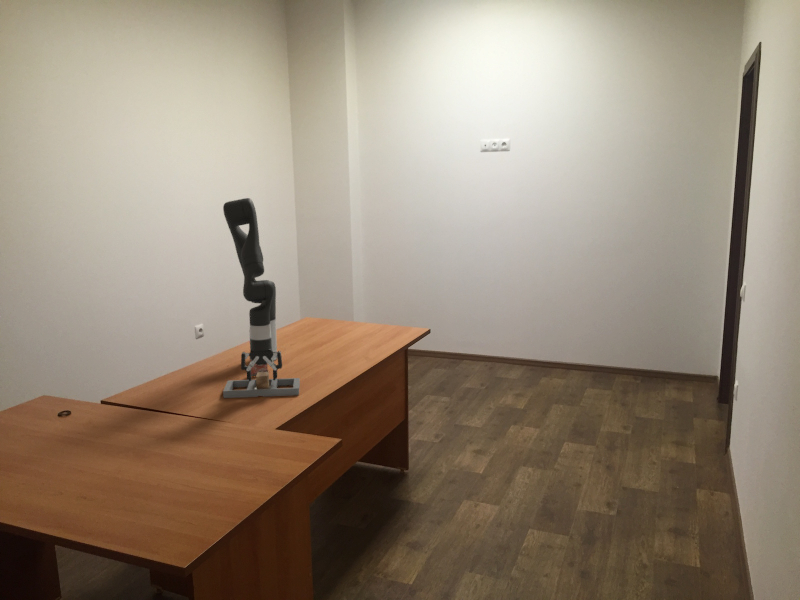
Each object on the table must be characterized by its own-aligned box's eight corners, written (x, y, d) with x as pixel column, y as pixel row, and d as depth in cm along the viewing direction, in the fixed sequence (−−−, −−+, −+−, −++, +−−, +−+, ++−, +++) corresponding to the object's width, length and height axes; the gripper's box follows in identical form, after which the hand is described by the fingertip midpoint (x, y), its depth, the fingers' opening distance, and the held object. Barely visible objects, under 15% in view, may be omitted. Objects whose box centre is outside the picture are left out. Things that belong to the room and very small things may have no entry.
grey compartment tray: (228, 387, 235) (227, 380, 234) (299, 384, 238) (299, 377, 237) (223, 398, 223) (223, 391, 223) (298, 395, 226) (298, 388, 226)
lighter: (254, 377, 245) (253, 352, 243) (248, 375, 247) (247, 350, 245) (270, 372, 252) (269, 347, 250) (264, 370, 254) (263, 346, 252)
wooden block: (256, 392, 228) (256, 376, 227) (258, 388, 233) (257, 372, 231) (268, 392, 228) (267, 376, 227) (269, 387, 233) (268, 371, 232)
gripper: (238, 339, 222) (240, 384, 225) (280, 338, 224) (281, 382, 227) (241, 334, 229) (243, 377, 232) (281, 333, 231) (283, 376, 234)
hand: (262, 380), depth 230 cm, fingers open, 8 cm apart
